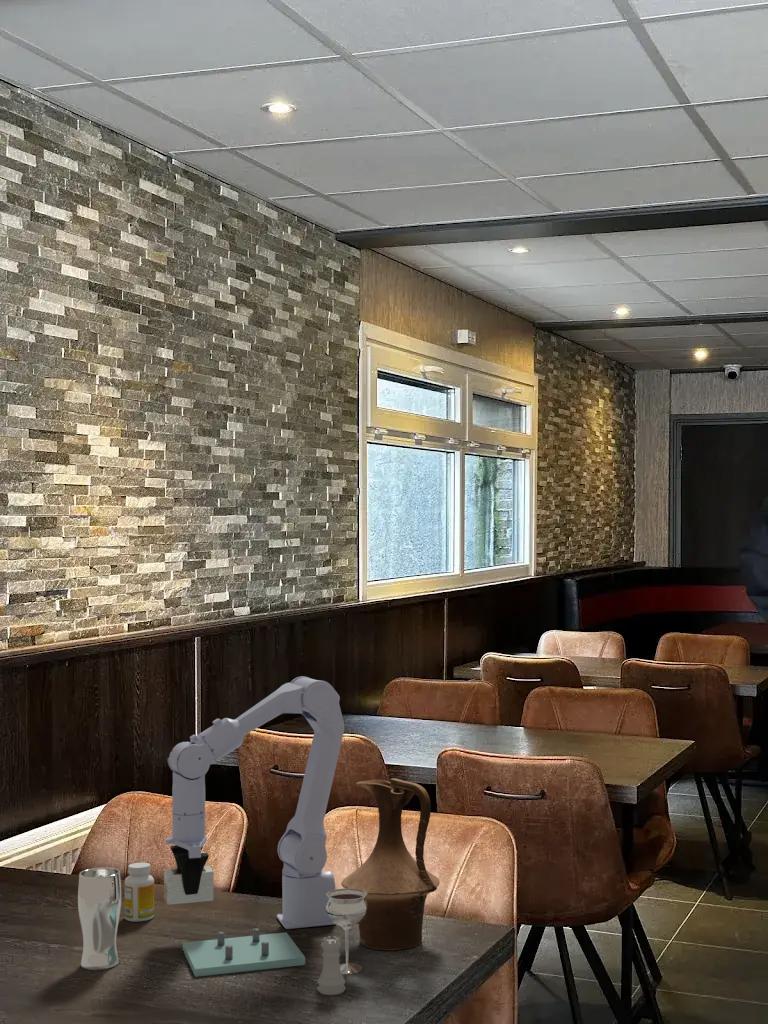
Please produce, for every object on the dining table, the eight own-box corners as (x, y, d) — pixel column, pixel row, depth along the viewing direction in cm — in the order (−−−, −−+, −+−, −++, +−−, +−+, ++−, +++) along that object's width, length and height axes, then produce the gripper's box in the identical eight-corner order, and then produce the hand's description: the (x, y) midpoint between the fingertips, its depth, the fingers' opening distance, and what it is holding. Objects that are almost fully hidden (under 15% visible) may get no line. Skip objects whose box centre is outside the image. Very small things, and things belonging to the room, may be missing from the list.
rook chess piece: (316, 986, 195) (316, 934, 195) (345, 985, 195) (344, 933, 195) (317, 996, 190) (317, 943, 191) (346, 995, 191) (346, 942, 191)
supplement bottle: (157, 914, 234) (157, 861, 234) (149, 922, 229) (149, 869, 229) (129, 913, 234) (129, 861, 235) (120, 922, 229) (120, 868, 229)
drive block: (209, 893, 223) (209, 865, 223) (213, 900, 218) (213, 871, 219) (164, 898, 220) (164, 868, 220) (167, 904, 216) (167, 875, 216)
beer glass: (129, 959, 208) (129, 868, 209) (106, 973, 202) (106, 879, 202) (92, 955, 210) (92, 865, 211) (69, 968, 204) (69, 875, 204)
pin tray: (286, 939, 218) (286, 920, 218) (305, 964, 205) (305, 945, 205) (182, 949, 213) (182, 930, 213) (195, 976, 200) (195, 956, 200)
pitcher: (460, 936, 219) (458, 775, 220) (409, 964, 205) (408, 792, 205) (375, 921, 228) (374, 766, 229) (321, 946, 214) (320, 781, 215)
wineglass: (337, 978, 198) (336, 902, 199) (319, 966, 204) (319, 891, 205) (375, 971, 201) (374, 896, 202) (356, 959, 207) (356, 886, 208)
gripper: (160, 805, 226) (161, 881, 225) (171, 822, 212) (171, 903, 211) (199, 802, 228) (200, 878, 227) (213, 819, 214) (213, 899, 213)
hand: (189, 890), depth 219 cm, fingers closed on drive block, 4 cm apart
